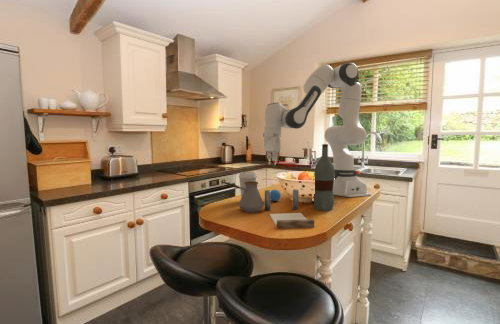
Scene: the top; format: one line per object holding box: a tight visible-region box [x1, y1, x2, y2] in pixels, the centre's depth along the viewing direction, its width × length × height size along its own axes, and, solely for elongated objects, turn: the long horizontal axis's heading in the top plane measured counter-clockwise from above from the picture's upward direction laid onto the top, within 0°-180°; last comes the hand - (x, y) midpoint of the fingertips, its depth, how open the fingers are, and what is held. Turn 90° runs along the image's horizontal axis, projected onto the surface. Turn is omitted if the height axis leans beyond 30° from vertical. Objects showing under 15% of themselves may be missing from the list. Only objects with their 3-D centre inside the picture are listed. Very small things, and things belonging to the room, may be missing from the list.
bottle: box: [313, 143, 335, 212], centre depth 131 cm, size 9×9×30 cm
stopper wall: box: [276, 218, 315, 230], centre depth 107 cm, size 14×2×2 cm, turn 96°
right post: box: [292, 188, 299, 211], centre depth 131 cm, size 3×3×9 cm
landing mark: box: [269, 212, 307, 226], centre depth 117 cm, size 14×14×1 cm
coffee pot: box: [221, 181, 265, 213], centre depth 126 cm, size 21×12×15 cm, turn 131°
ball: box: [270, 189, 282, 202], centre depth 146 cm, size 6×6×6 cm
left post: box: [264, 189, 272, 212], centre depth 130 cm, size 3×3×9 cm
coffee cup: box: [238, 171, 258, 198], centre depth 144 cm, size 10×10×15 cm
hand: (271, 160), depth 150 cm, fingers open, 8 cm apart
